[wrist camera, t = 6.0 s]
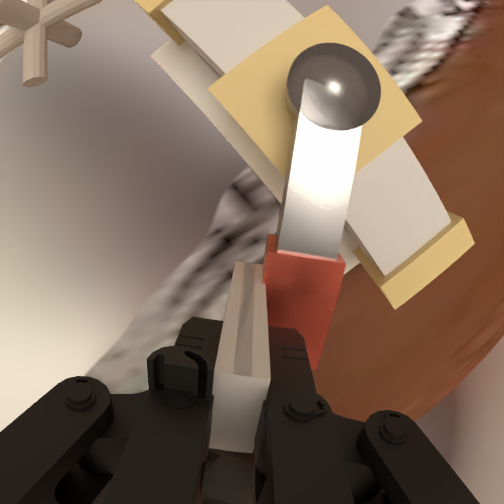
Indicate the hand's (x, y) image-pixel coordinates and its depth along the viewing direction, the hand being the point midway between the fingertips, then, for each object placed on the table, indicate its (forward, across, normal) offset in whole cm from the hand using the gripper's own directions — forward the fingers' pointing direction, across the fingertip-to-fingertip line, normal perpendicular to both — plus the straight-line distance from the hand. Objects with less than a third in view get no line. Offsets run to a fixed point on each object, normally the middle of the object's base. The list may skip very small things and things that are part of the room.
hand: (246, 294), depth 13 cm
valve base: (+10, +2, +8) cm, 13 cm away
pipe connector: (+11, -16, +14) cm, 24 cm away
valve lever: (0, +2, +4) cm, 4 cm away
